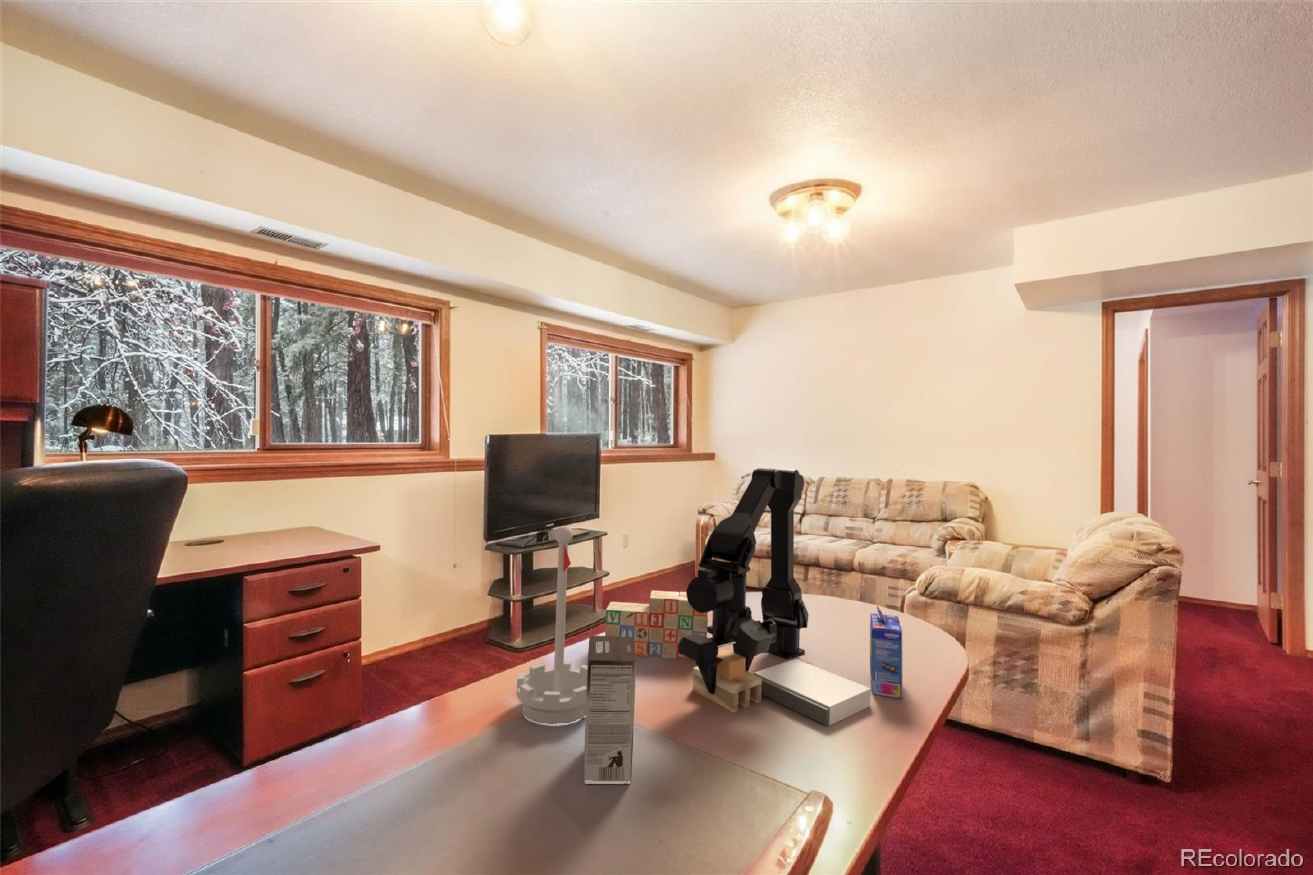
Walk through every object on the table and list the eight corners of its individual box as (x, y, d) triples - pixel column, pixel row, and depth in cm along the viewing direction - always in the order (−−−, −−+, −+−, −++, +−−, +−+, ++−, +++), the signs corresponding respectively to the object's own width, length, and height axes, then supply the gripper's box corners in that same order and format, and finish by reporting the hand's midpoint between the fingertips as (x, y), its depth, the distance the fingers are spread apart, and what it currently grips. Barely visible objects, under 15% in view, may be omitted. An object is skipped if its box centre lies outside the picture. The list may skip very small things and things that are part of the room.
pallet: (720, 680, 105) (720, 659, 105) (761, 701, 97) (761, 678, 97) (692, 690, 100) (693, 667, 100) (732, 712, 92) (733, 687, 92)
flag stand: (510, 698, 95) (516, 521, 95) (584, 687, 100) (590, 519, 100) (523, 736, 83) (531, 533, 83) (607, 721, 88) (614, 531, 88)
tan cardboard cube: (724, 665, 102) (725, 649, 102) (745, 675, 98) (745, 657, 98) (708, 670, 99) (709, 653, 99) (729, 680, 95) (729, 662, 95)
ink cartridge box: (868, 673, 110) (870, 600, 111) (898, 678, 109) (900, 604, 109) (869, 694, 101) (872, 614, 101) (902, 699, 99) (905, 618, 100)
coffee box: (585, 747, 80) (589, 634, 80) (629, 747, 81) (633, 635, 81) (581, 786, 71) (586, 659, 71) (632, 785, 72) (637, 659, 72)
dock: (794, 674, 109) (795, 658, 109) (870, 706, 96) (870, 688, 96) (750, 690, 101) (750, 673, 101) (826, 727, 88) (826, 708, 88)
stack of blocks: (603, 654, 116) (605, 594, 116) (608, 643, 123) (610, 587, 123) (706, 661, 114) (708, 601, 115) (706, 650, 121) (708, 593, 121)
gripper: (724, 620, 87) (721, 722, 86) (799, 603, 98) (796, 692, 98) (678, 603, 95) (674, 695, 95) (751, 589, 107) (749, 670, 107)
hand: (726, 688), depth 99 cm, fingers closed on pallet, 7 cm apart
